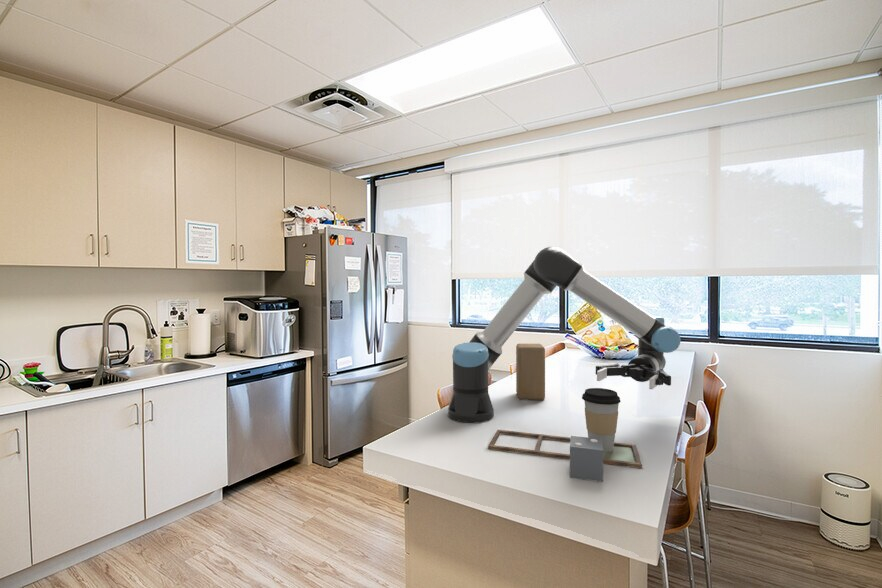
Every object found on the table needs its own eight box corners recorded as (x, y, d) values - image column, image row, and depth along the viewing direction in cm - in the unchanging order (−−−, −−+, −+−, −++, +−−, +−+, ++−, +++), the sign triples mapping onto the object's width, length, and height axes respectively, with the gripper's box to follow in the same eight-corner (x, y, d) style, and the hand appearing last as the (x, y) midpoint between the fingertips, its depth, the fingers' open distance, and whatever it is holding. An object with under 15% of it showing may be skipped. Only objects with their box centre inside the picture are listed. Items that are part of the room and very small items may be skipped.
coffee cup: (626, 448, 108) (626, 391, 108) (609, 459, 102) (610, 398, 102) (592, 438, 115) (592, 385, 115) (574, 448, 109) (575, 391, 109)
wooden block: (541, 393, 164) (541, 343, 164) (545, 400, 154) (545, 347, 154) (516, 393, 165) (516, 343, 165) (518, 400, 155) (518, 347, 155)
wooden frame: (488, 448, 110) (488, 445, 110) (497, 432, 122) (497, 429, 122) (642, 468, 98) (642, 464, 98) (635, 447, 110) (635, 444, 110)
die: (569, 477, 93) (569, 445, 93) (570, 464, 100) (570, 435, 100) (603, 481, 91) (603, 449, 91) (601, 468, 98) (601, 438, 98)
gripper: (688, 386, 122) (675, 402, 105) (602, 374, 137) (578, 386, 121) (689, 361, 121) (675, 373, 105) (602, 351, 137) (578, 360, 121)
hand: (623, 380), depth 113 cm, fingers open, 13 cm apart
